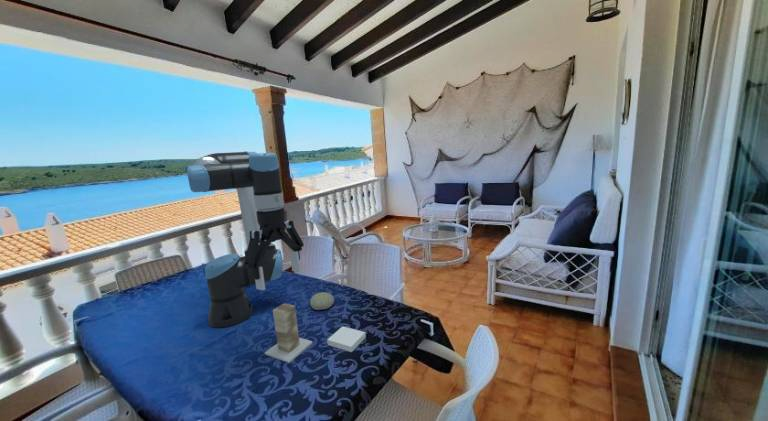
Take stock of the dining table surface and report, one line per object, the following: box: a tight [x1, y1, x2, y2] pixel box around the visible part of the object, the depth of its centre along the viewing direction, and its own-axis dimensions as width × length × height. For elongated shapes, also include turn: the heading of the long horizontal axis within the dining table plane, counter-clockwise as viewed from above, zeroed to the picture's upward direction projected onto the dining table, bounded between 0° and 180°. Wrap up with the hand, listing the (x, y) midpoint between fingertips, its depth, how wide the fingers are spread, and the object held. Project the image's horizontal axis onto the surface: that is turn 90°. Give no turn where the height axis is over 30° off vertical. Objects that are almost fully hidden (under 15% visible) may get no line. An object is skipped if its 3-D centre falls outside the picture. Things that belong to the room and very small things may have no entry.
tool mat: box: [264, 337, 314, 364], centre depth 92 cm, size 10×10×1 cm
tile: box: [326, 325, 367, 353], centre depth 94 cm, size 2×8×9 cm
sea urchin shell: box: [309, 291, 335, 311], centre depth 117 cm, size 9×8×8 cm
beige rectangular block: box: [272, 302, 300, 353], centre depth 90 cm, size 4×4×13 cm
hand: (279, 279), depth 88 cm, fingers open, 13 cm apart
